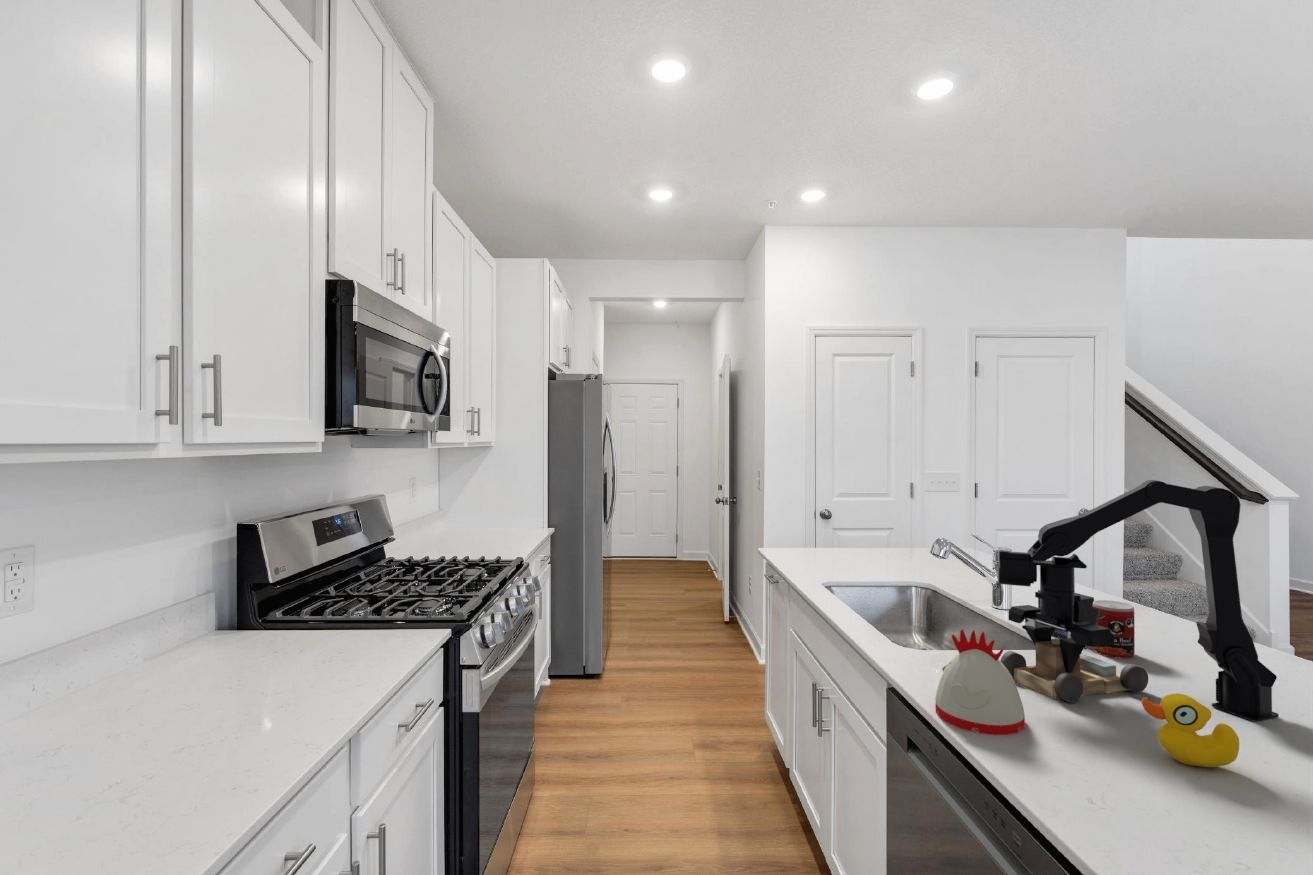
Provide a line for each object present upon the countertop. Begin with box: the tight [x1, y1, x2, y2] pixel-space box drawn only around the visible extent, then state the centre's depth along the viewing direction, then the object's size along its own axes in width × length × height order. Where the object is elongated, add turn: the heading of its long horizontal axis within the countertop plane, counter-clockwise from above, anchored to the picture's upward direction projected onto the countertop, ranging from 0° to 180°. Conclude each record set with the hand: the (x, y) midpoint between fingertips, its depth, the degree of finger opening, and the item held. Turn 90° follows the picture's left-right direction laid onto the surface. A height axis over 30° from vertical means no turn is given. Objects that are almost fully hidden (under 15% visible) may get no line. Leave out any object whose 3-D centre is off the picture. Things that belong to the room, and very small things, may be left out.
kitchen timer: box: [935, 628, 1026, 736], centre depth 109 cm, size 14×14×15 cm
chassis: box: [1000, 650, 1149, 704], centre depth 123 cm, size 14×21×5 cm
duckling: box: [1141, 693, 1240, 768], centre depth 93 cm, size 11×5×10 cm, turn 66°
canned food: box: [1093, 599, 1136, 659], centre depth 141 cm, size 8×8×11 cm
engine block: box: [1034, 638, 1080, 681], centre depth 122 cm, size 4×6×7 cm
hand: (1058, 668), depth 122 cm, fingers closed on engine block, 4 cm apart
